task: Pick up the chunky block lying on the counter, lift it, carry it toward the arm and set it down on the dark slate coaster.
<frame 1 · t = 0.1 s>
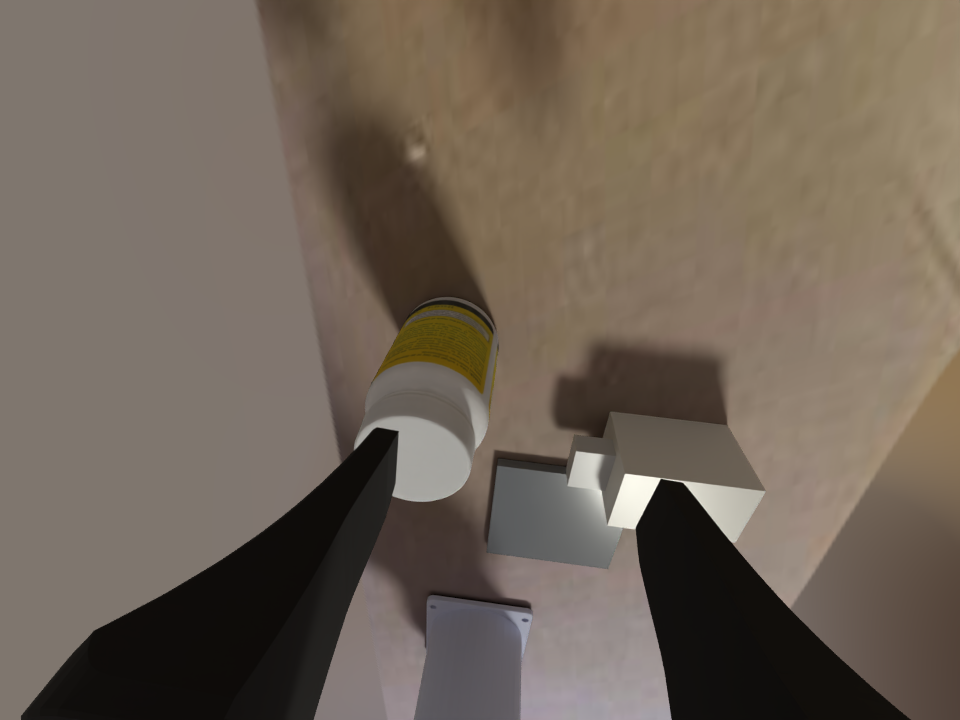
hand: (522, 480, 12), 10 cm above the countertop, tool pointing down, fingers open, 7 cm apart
supplement bottle: (452, 337, 22), on the countertop
coaster: (556, 513, 27), on the countertop
block: (658, 442, 24), on the countertop
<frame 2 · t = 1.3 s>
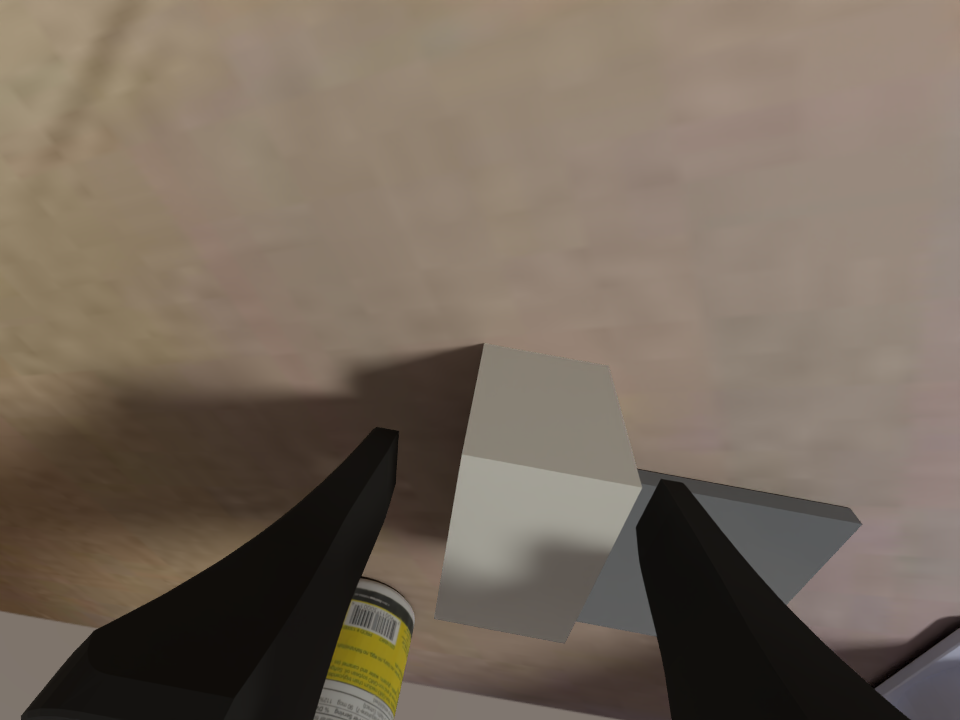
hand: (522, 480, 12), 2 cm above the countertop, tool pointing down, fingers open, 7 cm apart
supplement bottle: (367, 601, 20), on the countertop
coaster: (676, 560, 16), on the countertop
block: (524, 433, 14), on the countertop
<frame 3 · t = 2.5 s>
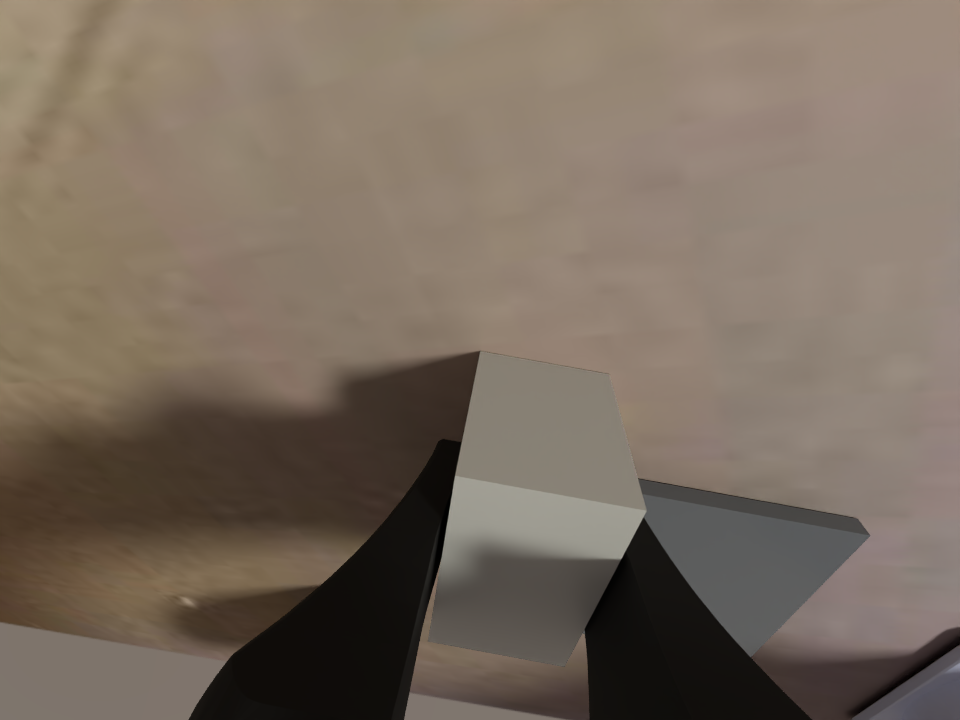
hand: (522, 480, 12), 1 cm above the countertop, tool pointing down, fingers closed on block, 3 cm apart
coaster: (678, 571, 16), on the countertop
block: (522, 445, 13), on the countertop, touching gripper
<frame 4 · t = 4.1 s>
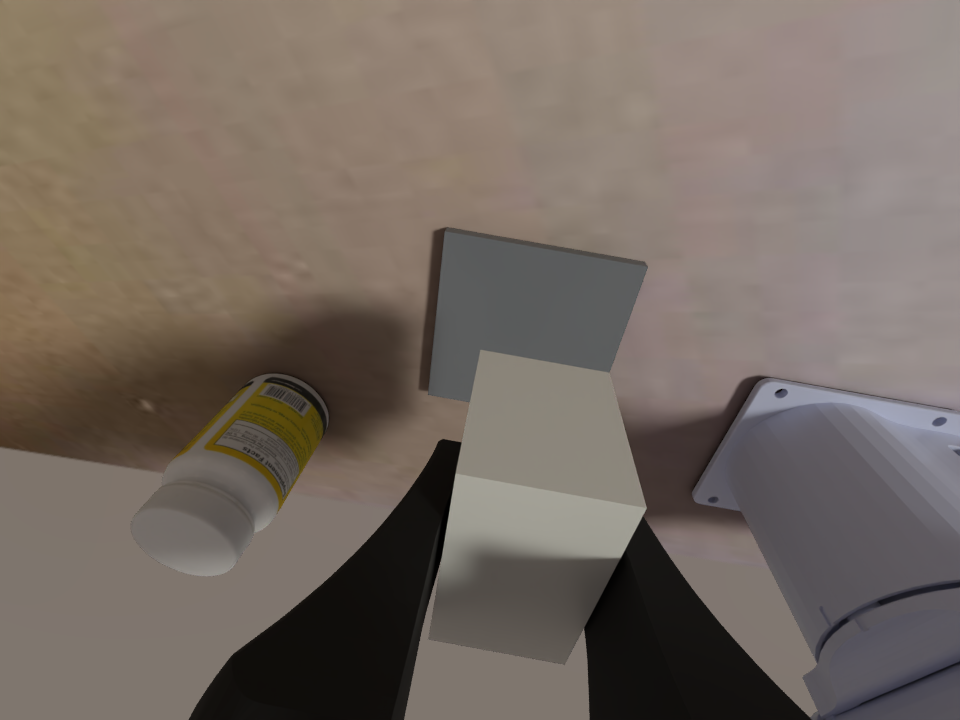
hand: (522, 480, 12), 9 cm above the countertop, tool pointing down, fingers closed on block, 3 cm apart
supplement bottle: (289, 405, 24), on the countertop
coaster: (525, 331, 20), on the countertop
block: (522, 443, 13), point 7 cm above the countertop, touching gripper
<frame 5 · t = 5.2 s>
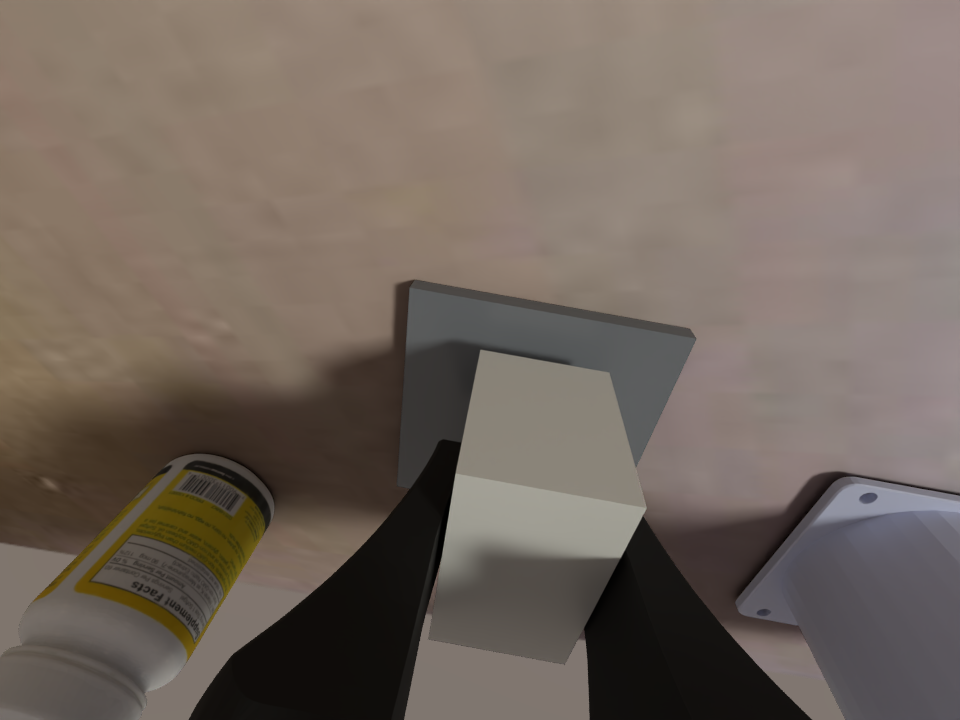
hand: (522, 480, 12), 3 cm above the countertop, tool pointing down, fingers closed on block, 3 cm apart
supplement bottle: (226, 487, 19), on the countertop
coaster: (524, 412, 15), on the countertop
block: (522, 443, 13), point 2 cm above the countertop, touching gripper
when the fingers open (3 cm above the countertop, at t = 5.9 s): block stays where it is, resting on coaster.
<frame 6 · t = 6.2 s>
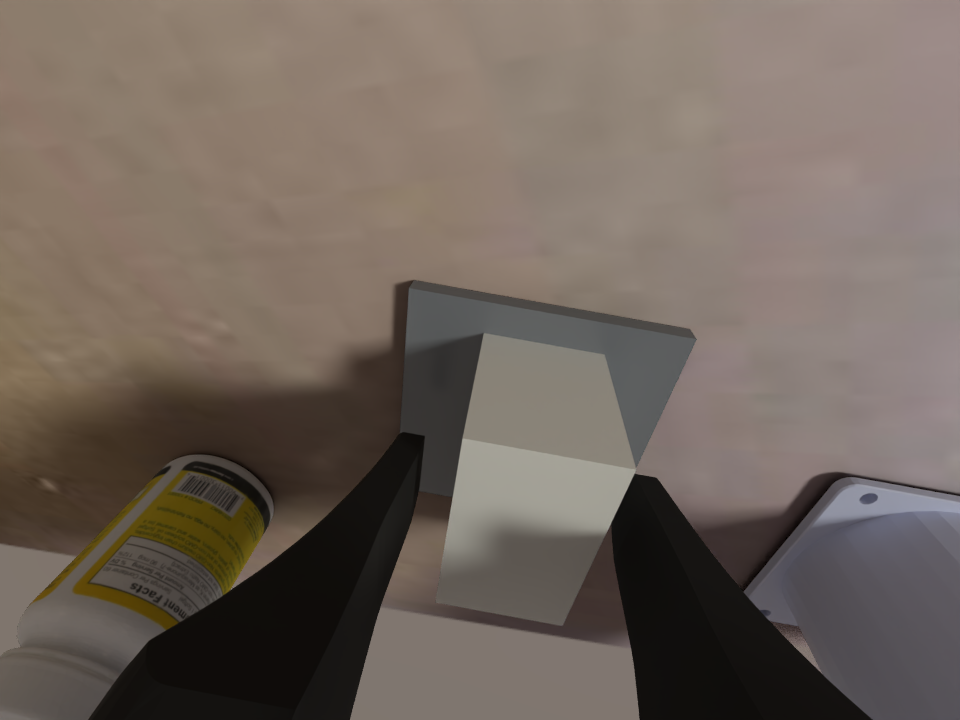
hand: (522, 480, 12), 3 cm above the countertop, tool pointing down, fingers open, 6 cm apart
supplement bottle: (225, 488, 19), on the countertop
coaster: (523, 412, 15), on the countertop
block: (523, 423, 14), point 1 cm above the countertop, touching coaster
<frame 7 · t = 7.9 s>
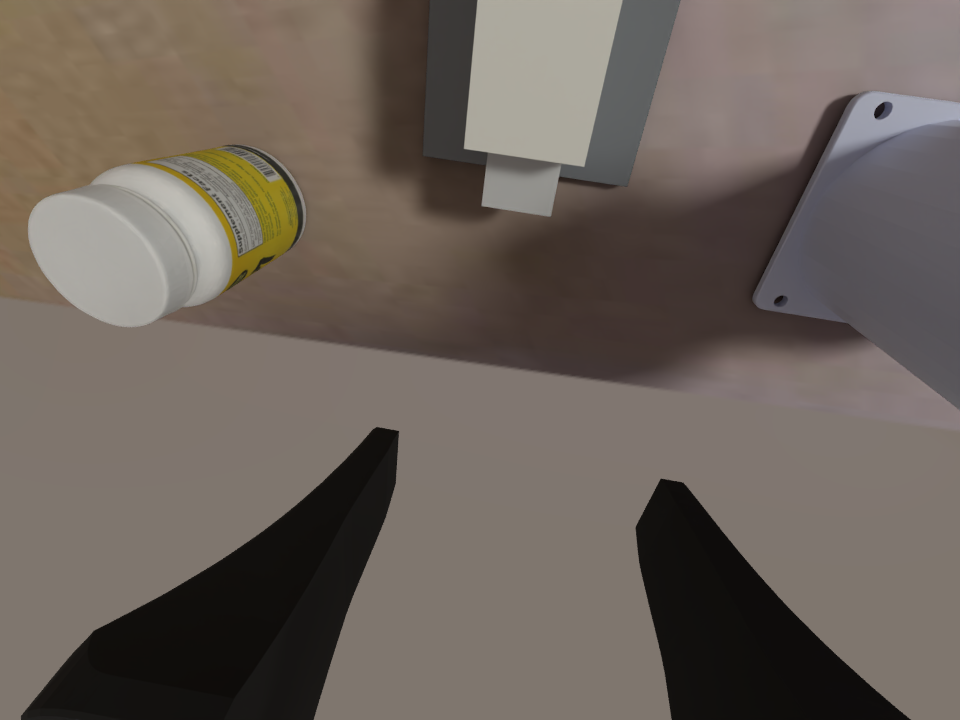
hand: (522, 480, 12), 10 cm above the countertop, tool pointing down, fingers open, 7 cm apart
supplement bottle: (260, 201, 20), on the countertop
coaster: (544, 46, 15), on the countertop
block: (544, 43, 15), point 1 cm above the countertop, touching coaster
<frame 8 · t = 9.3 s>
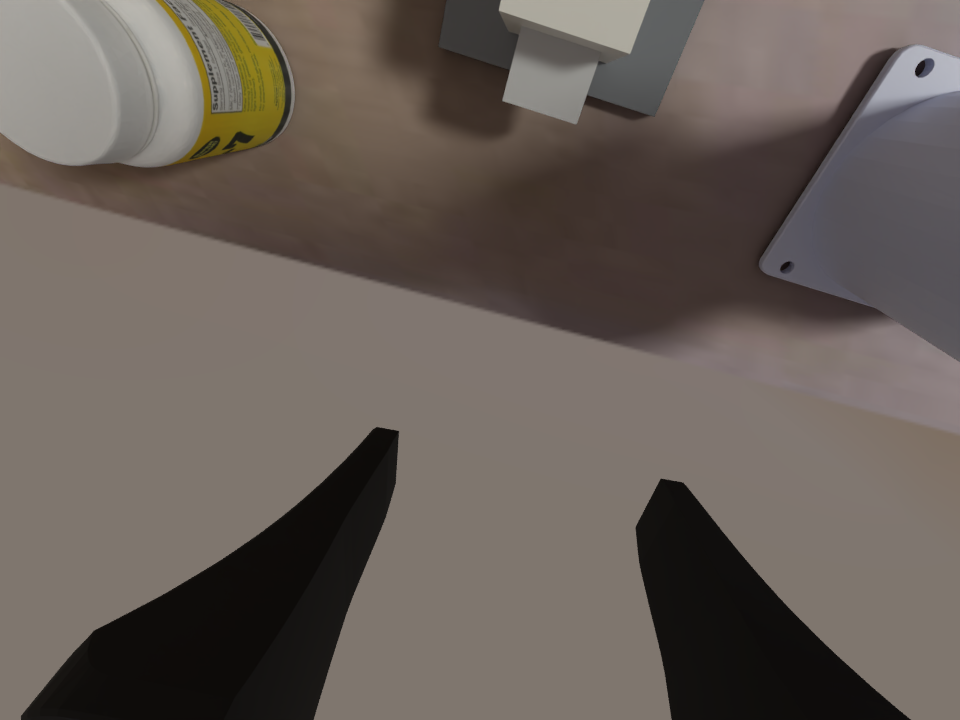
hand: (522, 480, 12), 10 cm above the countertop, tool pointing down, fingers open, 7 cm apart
supplement bottle: (242, 79, 17), on the countertop
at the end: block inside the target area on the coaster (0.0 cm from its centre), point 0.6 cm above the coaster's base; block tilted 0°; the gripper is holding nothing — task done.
